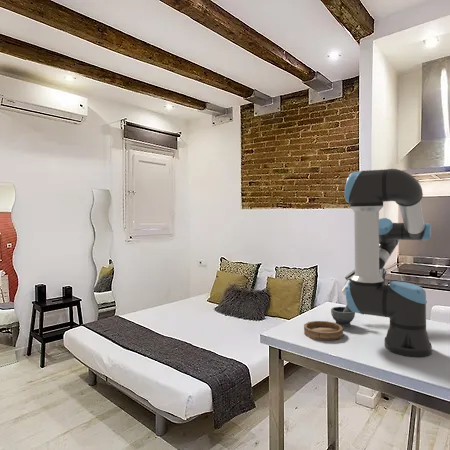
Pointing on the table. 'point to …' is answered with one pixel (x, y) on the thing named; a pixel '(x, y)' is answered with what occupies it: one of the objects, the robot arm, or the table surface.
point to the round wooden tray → (323, 330)
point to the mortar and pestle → (342, 316)
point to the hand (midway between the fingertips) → (355, 295)
